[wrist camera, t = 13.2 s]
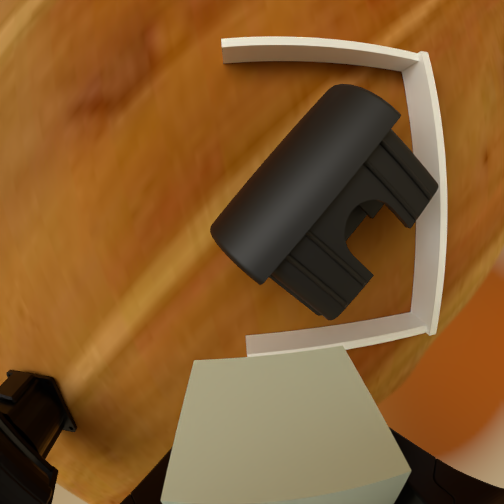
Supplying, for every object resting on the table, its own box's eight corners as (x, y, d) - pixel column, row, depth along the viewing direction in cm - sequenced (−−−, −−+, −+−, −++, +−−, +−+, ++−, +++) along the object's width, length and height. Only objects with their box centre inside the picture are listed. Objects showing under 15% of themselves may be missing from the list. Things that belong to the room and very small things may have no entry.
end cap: (315, 102, 17) (352, 65, 11) (392, 176, 18) (454, 176, 12) (213, 221, 19) (200, 240, 12) (299, 290, 20) (327, 338, 13)
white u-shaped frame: (415, 317, 21) (436, 333, 18) (246, 343, 20) (248, 366, 17) (406, 65, 17) (427, 52, 14) (222, 55, 16) (221, 35, 13)
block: (333, 439, 10) (367, 544, 5) (216, 451, 10) (208, 562, 5) (342, 345, 9) (411, 470, 4) (193, 360, 9) (160, 500, 4)
